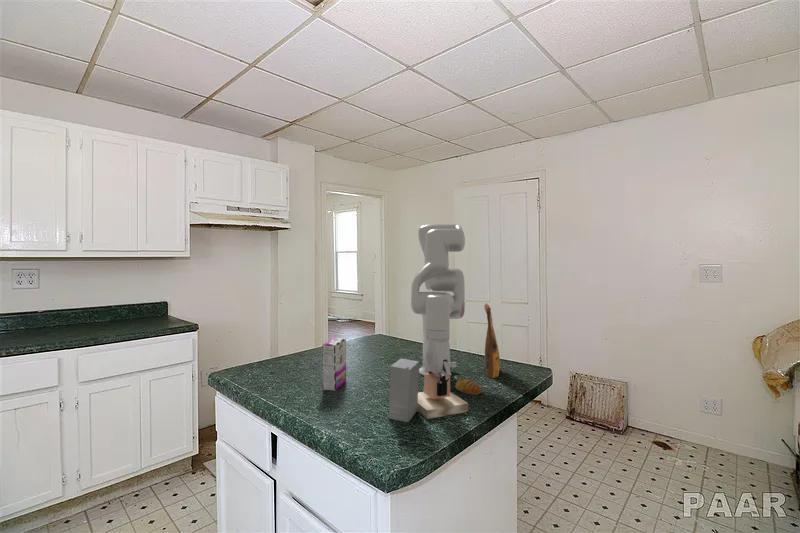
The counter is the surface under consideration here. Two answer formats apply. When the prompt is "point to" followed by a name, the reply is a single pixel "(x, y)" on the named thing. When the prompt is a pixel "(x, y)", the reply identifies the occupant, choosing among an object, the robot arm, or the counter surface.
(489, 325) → the pancake mix bag
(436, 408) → the birch board
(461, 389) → the pastry
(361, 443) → the counter surface
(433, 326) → the robot arm
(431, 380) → the terracotta cube
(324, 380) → the candy bar box
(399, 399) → the skincare box
